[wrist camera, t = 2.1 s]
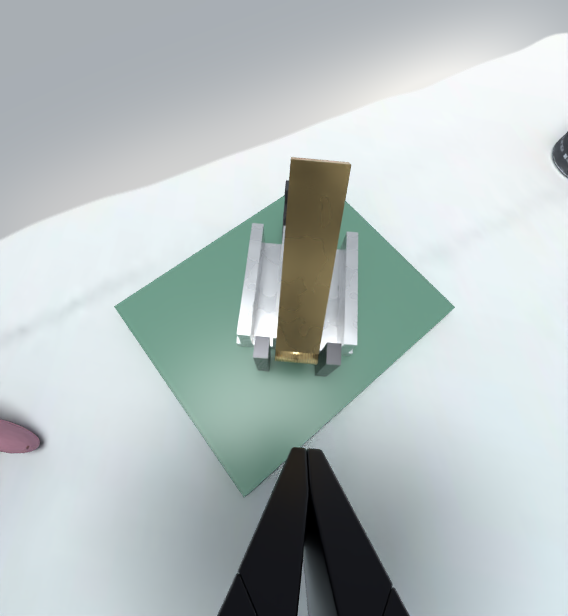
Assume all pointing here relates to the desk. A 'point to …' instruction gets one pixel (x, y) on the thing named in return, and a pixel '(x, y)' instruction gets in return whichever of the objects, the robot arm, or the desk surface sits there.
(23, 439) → the pink curved lobed piece
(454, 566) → the desk surface
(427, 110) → the desk surface
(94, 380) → the desk surface
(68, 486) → the desk surface
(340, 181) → the bar
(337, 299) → the heatsink mount
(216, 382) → the motherboard
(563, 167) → the pill bottle
